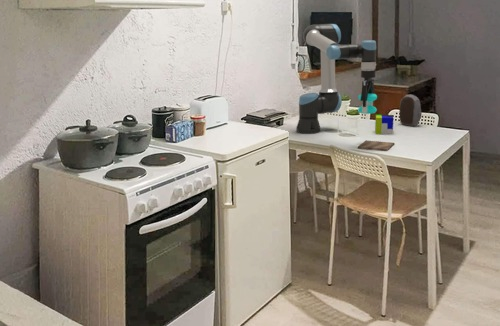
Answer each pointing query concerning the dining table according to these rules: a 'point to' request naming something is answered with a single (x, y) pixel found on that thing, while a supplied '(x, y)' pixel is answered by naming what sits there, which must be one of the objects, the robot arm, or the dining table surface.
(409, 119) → the soft grey pack
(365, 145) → the walnut board
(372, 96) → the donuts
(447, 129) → the dining table surface
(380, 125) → the puzzle toy
